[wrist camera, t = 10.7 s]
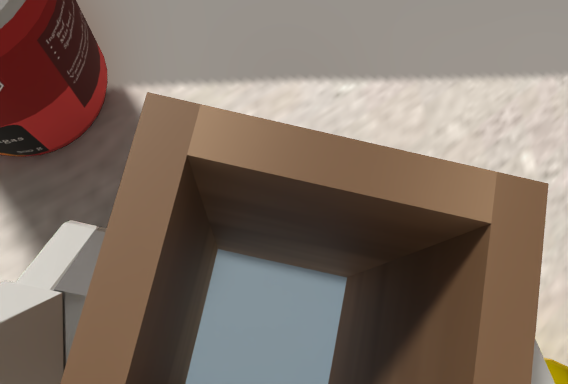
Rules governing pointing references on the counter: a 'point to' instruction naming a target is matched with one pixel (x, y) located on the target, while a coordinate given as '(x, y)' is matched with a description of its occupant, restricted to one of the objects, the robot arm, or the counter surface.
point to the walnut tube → (314, 250)
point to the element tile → (557, 371)
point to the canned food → (47, 76)
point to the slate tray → (266, 323)
